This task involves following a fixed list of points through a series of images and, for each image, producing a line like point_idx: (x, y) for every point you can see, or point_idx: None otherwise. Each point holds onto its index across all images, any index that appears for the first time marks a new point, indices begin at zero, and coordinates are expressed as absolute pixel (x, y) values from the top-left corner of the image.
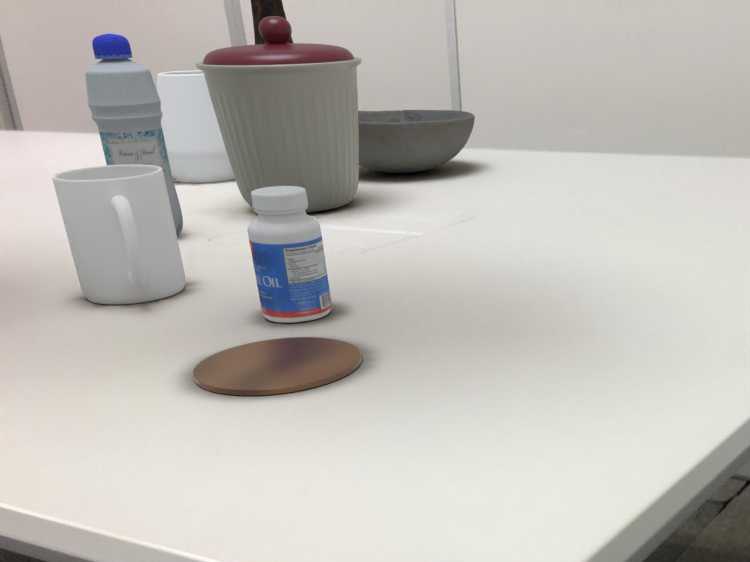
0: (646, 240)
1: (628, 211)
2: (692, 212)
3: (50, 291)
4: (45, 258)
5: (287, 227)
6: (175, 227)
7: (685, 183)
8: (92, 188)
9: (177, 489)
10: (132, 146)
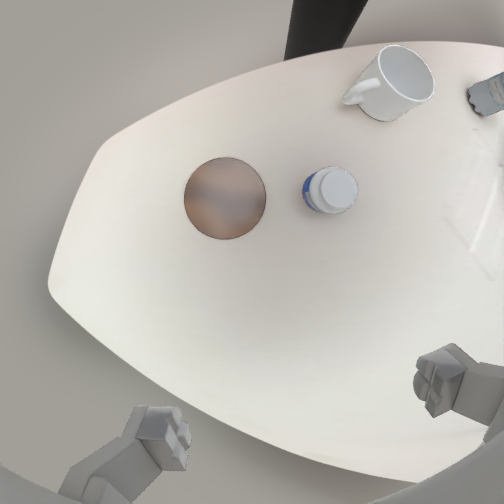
0: None
1: None
2: None
3: None
4: (439, 54)
5: (314, 195)
6: (478, 111)
7: None
8: (376, 66)
9: (103, 192)
10: (499, 87)
